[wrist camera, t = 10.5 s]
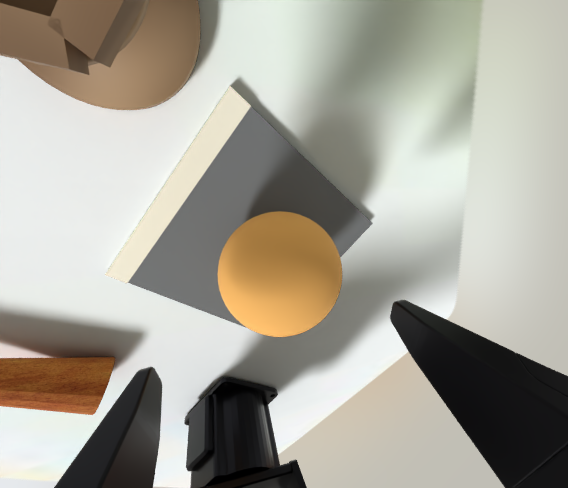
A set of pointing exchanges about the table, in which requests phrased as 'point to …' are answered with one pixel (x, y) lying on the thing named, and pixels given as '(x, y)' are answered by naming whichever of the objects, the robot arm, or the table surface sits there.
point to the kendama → (55, 383)
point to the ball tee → (105, 47)
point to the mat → (226, 206)
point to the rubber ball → (279, 274)
